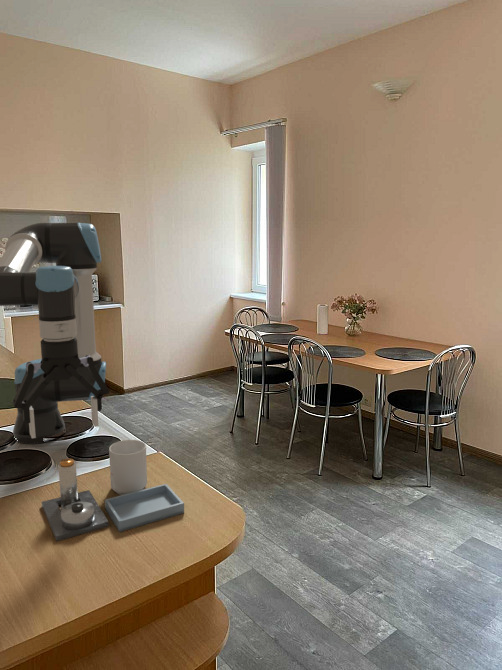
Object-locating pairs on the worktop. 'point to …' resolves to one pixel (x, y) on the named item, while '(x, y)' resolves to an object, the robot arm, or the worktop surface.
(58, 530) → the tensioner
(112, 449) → the mug
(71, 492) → the pin
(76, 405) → the worktop surface
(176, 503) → the tray
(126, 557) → the worktop surface
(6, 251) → the robot arm
